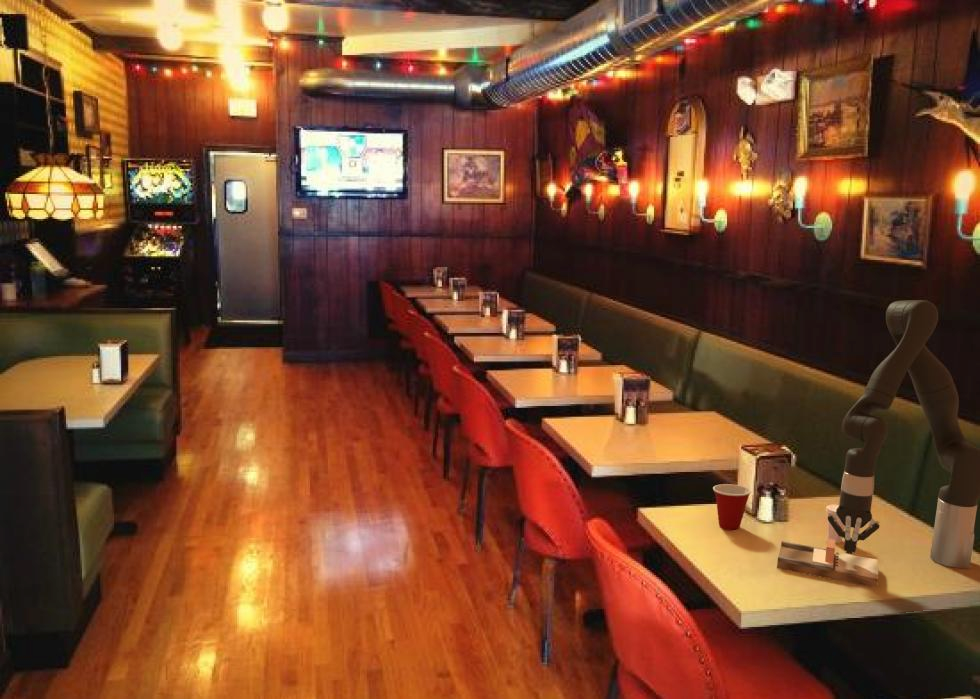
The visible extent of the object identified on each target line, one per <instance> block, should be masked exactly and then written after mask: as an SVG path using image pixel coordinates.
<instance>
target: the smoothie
mask: <svg viewBox="0 0 980 699" xmlns="http://www.w3.org/2000/svg"><path fill="white" fill-rule="evenodd" d="M838 507H839V504H828V505H826V507H825V510H826V518H827V519H826V523H827V528H826V529H827V538H828V539H834V540H835V544H840V543H842V541H843V539H844V538H843V537H840V536H838V534H837V533H836V531H835V530H834V528H833V527H832V525H831V524H830V522H829V521H828V514H829V513H831V514H832V513H834V512H836V510H837V508H838ZM837 518H838V520H837V522H838V524H839V525H840V527H841V528H842V530H843V531H845V525H843V523H842V522H841V520H840V519H839V517H838V516H837Z"/></svg>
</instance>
